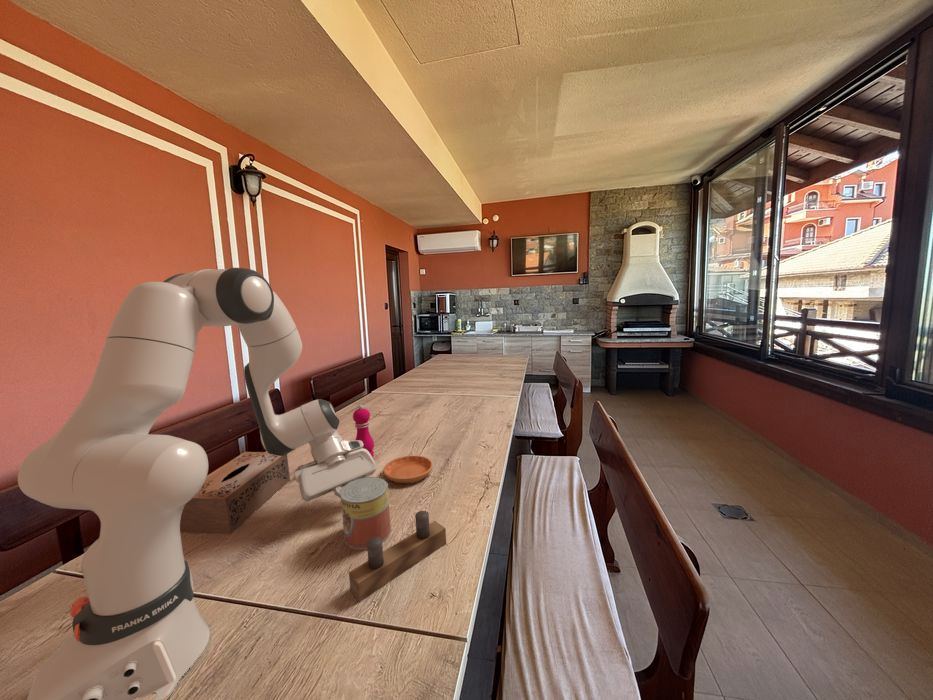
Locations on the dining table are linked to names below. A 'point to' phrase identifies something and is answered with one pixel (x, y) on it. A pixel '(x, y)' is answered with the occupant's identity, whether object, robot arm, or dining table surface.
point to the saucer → (408, 469)
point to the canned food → (365, 511)
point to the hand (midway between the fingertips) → (349, 501)
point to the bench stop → (396, 556)
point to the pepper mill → (363, 428)
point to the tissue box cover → (234, 493)
